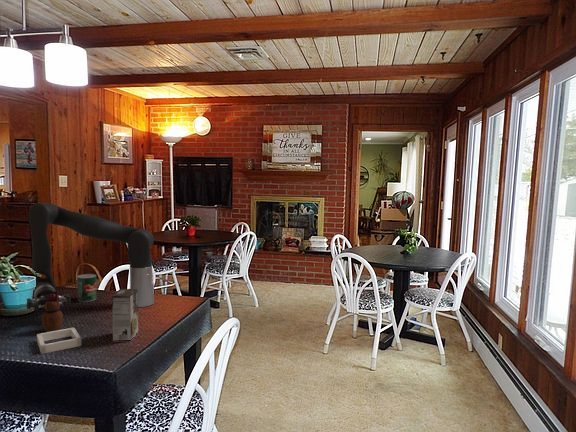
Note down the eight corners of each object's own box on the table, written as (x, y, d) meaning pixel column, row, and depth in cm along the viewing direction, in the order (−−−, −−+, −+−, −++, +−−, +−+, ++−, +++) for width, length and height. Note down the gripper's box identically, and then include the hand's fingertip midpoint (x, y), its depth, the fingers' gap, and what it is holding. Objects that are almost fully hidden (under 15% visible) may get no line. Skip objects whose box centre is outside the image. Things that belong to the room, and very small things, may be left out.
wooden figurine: (66, 329, 149) (65, 289, 147) (53, 334, 143) (51, 293, 142) (52, 326, 151) (51, 287, 150) (38, 332, 145) (37, 291, 144)
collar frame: (74, 334, 144) (74, 327, 144) (81, 345, 134) (81, 338, 134) (37, 341, 137) (36, 334, 137) (41, 354, 128) (41, 346, 127)
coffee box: (120, 331, 148) (120, 288, 146) (138, 331, 148) (138, 288, 147) (111, 341, 138) (111, 295, 137) (131, 341, 139) (130, 295, 138)
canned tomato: (90, 302, 182) (90, 278, 181) (73, 301, 182) (73, 277, 181) (100, 297, 189) (99, 274, 188) (83, 296, 190) (83, 273, 189)
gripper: (24, 288, 157) (27, 299, 144) (65, 283, 165) (72, 293, 152) (24, 307, 157) (28, 319, 144) (66, 301, 166) (73, 312, 153)
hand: (51, 306), depth 148 cm, fingers open, 8 cm apart
